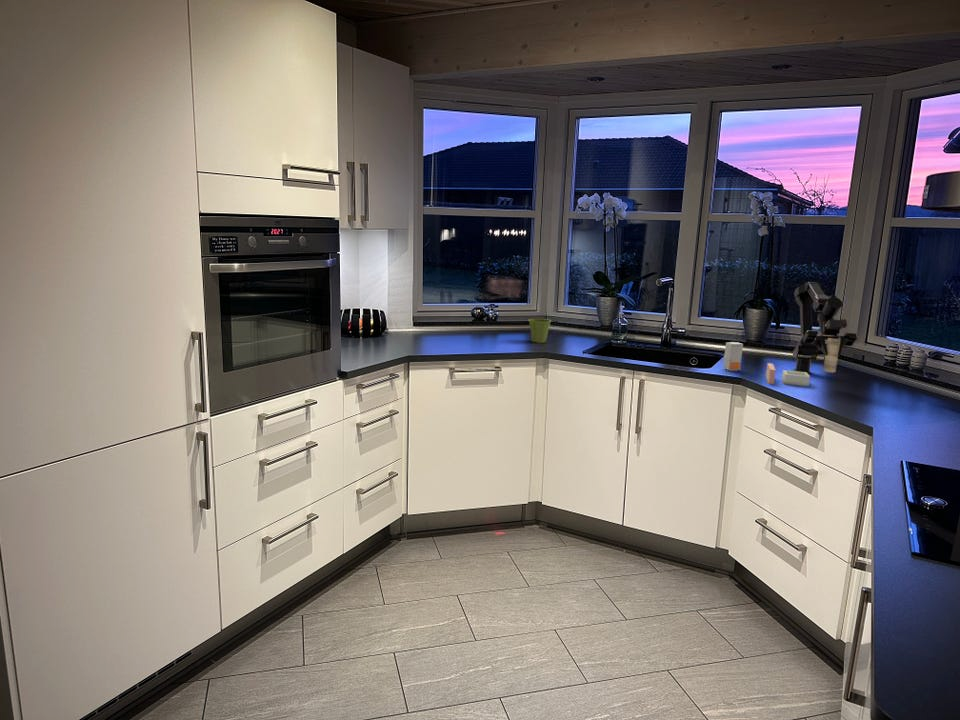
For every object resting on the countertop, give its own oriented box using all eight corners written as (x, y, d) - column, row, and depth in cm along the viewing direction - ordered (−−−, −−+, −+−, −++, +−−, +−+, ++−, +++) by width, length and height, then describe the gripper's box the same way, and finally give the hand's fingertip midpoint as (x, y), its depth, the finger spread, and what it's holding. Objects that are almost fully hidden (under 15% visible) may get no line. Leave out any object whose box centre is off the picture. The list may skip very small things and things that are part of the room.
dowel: (823, 369, 271) (828, 337, 268) (835, 371, 269) (840, 338, 266) (822, 371, 267) (827, 338, 265) (835, 372, 265) (840, 340, 262)
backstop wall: (765, 377, 285) (767, 363, 284) (770, 377, 284) (772, 363, 283) (768, 384, 272) (770, 369, 271) (773, 384, 271) (775, 370, 270)
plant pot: (540, 339, 355) (541, 318, 353) (554, 343, 346) (556, 321, 344) (522, 340, 349) (523, 319, 346) (536, 344, 339) (538, 322, 337)
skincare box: (728, 370, 295) (731, 343, 292) (722, 368, 299) (725, 342, 296) (740, 370, 296) (743, 343, 294) (734, 368, 300) (737, 342, 298)
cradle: (781, 379, 281) (783, 370, 280) (805, 381, 278) (806, 372, 277) (784, 383, 272) (785, 374, 272) (808, 386, 270) (809, 376, 269)
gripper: (809, 310, 268) (814, 342, 260) (859, 313, 266) (866, 345, 257) (800, 326, 278) (805, 358, 269) (848, 329, 275) (855, 361, 267)
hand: (832, 355), depth 265 cm, fingers closed on dowel, 4 cm apart
